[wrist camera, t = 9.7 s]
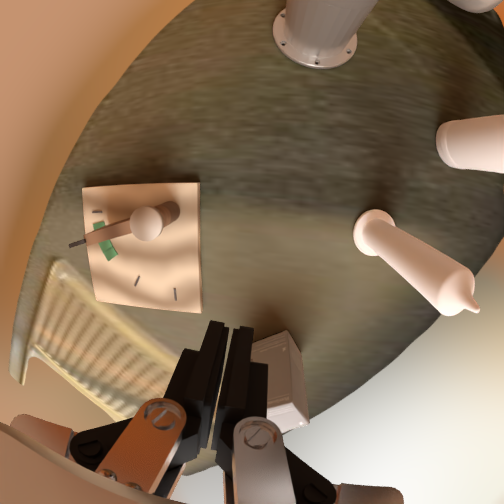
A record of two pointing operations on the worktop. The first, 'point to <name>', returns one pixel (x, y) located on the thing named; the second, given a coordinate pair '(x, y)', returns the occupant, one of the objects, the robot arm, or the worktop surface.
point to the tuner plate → (146, 248)
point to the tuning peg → (136, 224)
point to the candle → (417, 263)
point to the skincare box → (283, 380)
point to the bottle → (473, 143)
